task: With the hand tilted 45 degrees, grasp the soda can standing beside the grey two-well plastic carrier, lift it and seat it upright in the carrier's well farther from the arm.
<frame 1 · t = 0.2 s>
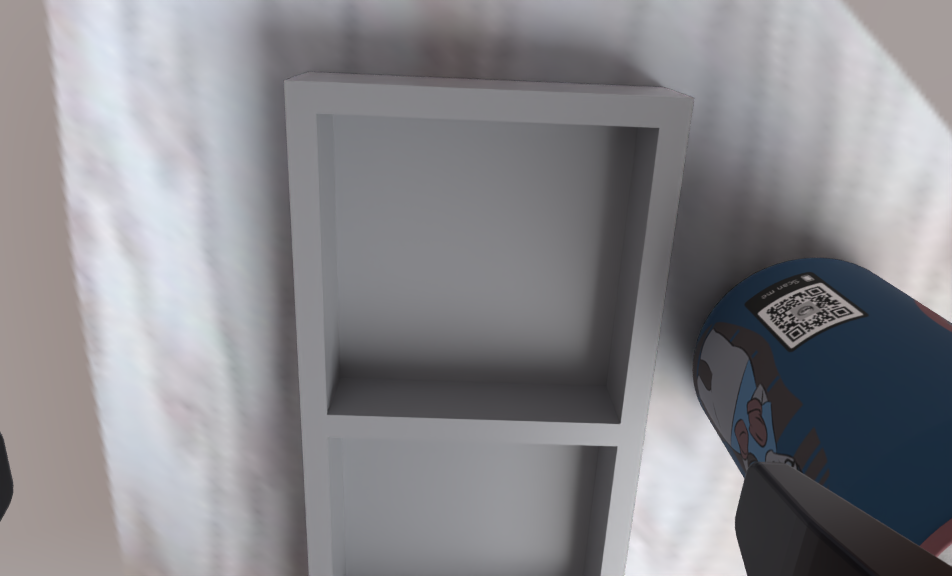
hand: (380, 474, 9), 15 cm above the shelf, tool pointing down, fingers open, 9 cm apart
soda can: (780, 339, 25), on the shelf
can carrier: (473, 384, 25), on the shelf
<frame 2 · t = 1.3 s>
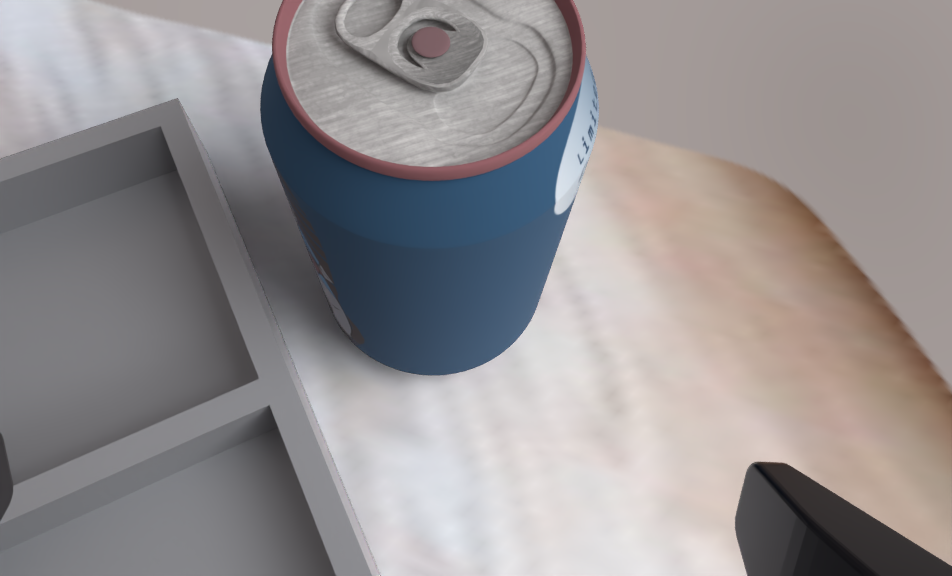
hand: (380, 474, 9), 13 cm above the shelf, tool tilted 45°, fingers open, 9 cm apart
soda can: (434, 288, 24), on the shelf
can carrier: (141, 479, 21), on the shelf
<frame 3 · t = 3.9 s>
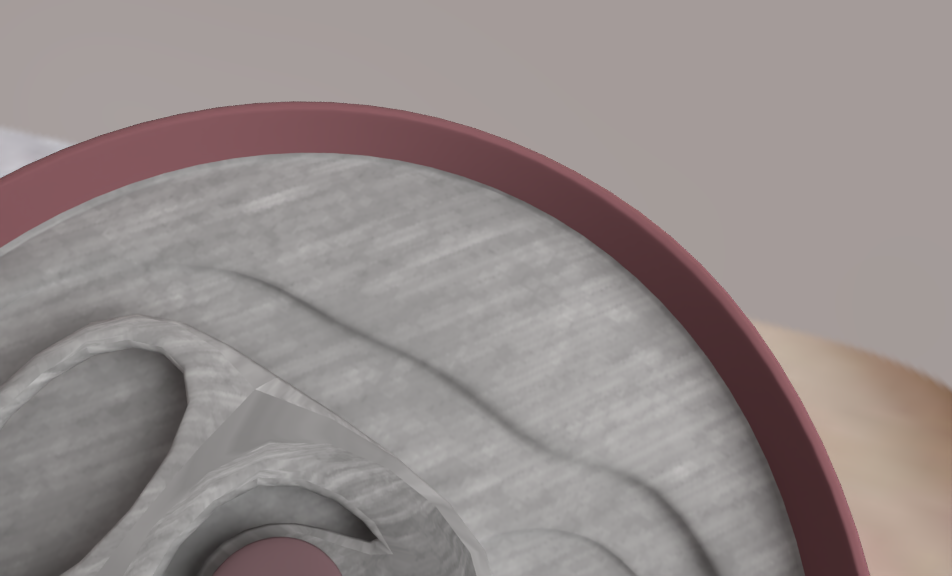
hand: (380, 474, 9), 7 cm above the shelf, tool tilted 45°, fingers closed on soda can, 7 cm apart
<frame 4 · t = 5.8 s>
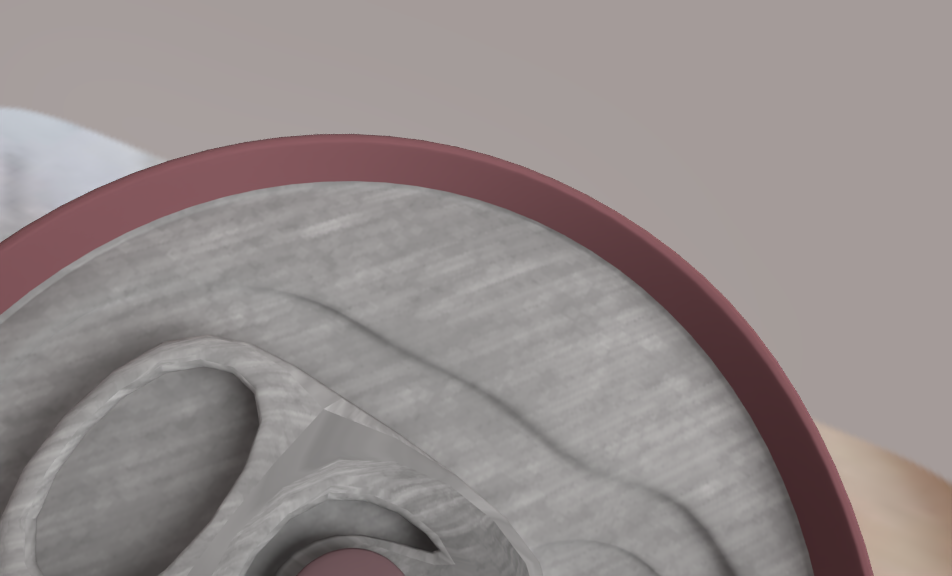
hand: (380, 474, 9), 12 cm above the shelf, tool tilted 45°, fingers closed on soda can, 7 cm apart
when the fingers open (8 cm above the shelf, at t = 7.9 s): soda can stays where it is, resting on can carrier.
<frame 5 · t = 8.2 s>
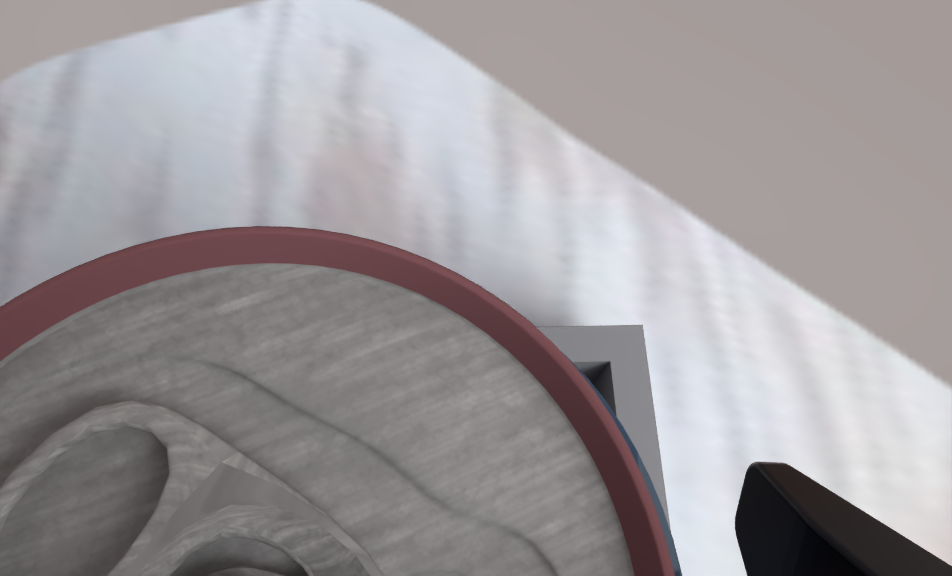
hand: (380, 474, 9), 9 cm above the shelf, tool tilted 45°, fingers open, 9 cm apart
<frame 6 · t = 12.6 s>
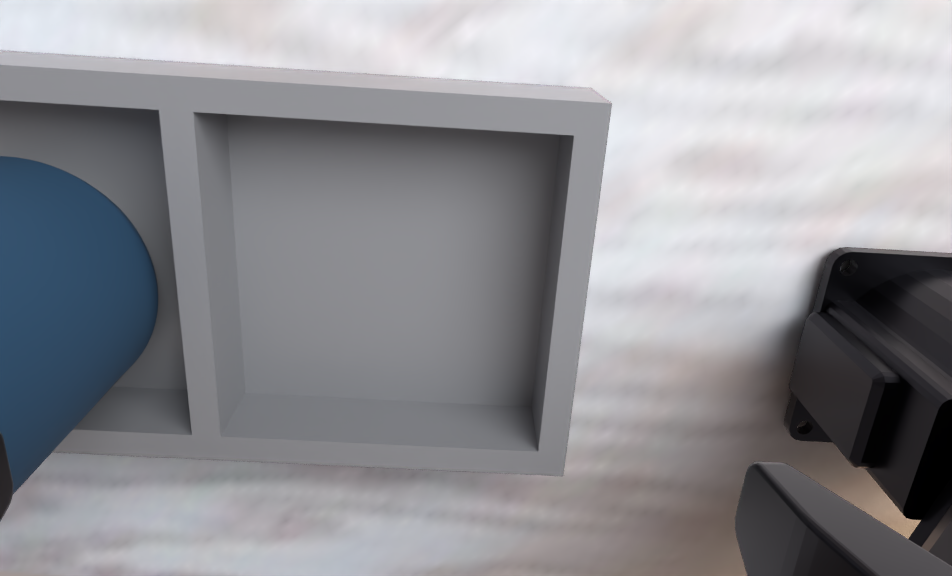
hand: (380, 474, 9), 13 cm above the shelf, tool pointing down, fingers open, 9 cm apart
soda can: (58, 263, 21), resting on can carrier
can carrier: (228, 250, 21), on the shelf
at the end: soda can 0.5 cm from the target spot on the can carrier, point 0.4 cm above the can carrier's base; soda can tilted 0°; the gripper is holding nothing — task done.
